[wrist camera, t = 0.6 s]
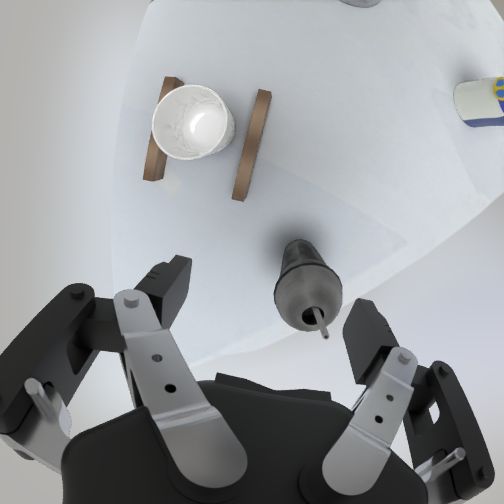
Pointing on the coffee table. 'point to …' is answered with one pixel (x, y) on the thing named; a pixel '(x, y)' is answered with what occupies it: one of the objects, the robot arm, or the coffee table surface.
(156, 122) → the white cup
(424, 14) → the coffee table surface
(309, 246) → the beverage cup
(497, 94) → the white and blue figurine
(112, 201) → the coffee table surface
